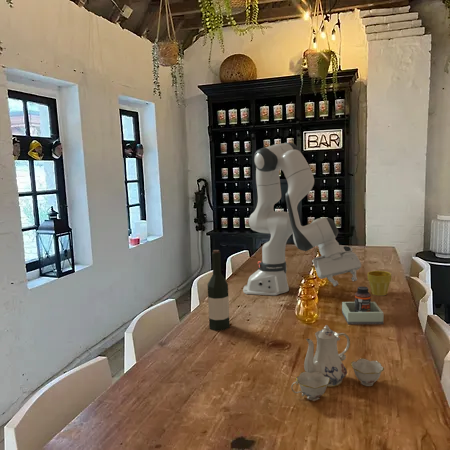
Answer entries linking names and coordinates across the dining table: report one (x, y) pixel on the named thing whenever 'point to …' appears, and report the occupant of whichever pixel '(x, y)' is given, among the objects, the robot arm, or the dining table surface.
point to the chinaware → (331, 366)
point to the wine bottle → (218, 296)
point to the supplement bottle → (362, 300)
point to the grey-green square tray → (362, 314)
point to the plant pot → (379, 282)
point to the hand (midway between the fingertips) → (345, 283)
